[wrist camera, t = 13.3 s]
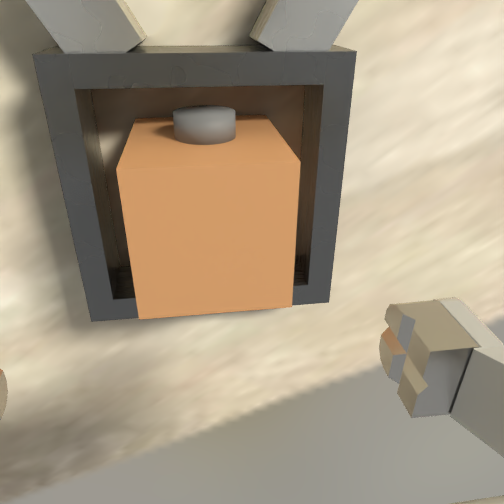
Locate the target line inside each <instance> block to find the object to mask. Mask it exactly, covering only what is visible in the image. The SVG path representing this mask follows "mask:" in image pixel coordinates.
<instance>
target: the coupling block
mask: <svg viewBox="0 0 504 504" xmlns="http://www.w3.org/2000/svg"><path fill="white" fill-rule="evenodd" d="M300 164H301V162H300V160H299V159H298V158H297V156H296V155H295V154H294V152H293V151H292V150H291V148H290V147H289V146H288V144H287V143H286V142H285V140H284V139H283V138H282V136H281V135H280V134H279V132H278V131H277V130H276V128H275V127H274V126H273V124H272V123H271V122H270V120H269V119H268V118H267V116H266V115H241V116H235V110H234V109H232V108H229V107H224V106H213V105H199V106H188V107H183V108H179V109H176V110H174V111H173V117H166V118H136V119H135V122H134V124H133V127H132V130H131V132H130V135H129V137H128V140H127V142H126V145H125V148H124V150H123V153H122V155H121V158H120V161H119V163H118V166H117V168H116V172H117V179H118V185H119V192H120V198H121V205H122V211H123V218H124V224H125V231H126V237H127V244H128V250H129V257H130V263H131V270H132V276H133V283H134V289H135V296H136V303H137V309H138V316H139V320H140V319H152V318H164V317H176V316H188V315H201V314H213V313H225V312H237V311H249V310H262V309H274V308H286V307H292V297H293V280H294V264H295V247H296V230H297V214H298V197H299V180H300Z"/></svg>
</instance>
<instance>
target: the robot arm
mask: <svg viewBox="0 0 504 504" xmlns="http://www.w3.org/2000/svg"><path fill="white" fill-rule="evenodd" d="M385 321H386V322H387V324H388V325H389V327H388V328H387V329H386V330H385V331H384V332H383V334H382V335H381V339H380V345H379V350H380V359H381V362H382V365H383V368H384V370H385V372H386V374H387V376H388V377H389V378H391V379H392V380H394V381H395V382H397V383H399V387H398V391H397V394H398V395H399V397H400V399H401V401H402V402H403V404H404V406H405V407H406V409H407V411H408V413H409V415H410V416H411V418H416V417H426V416H437V415H448V414H450V417H451V418H453V419H454V420H456V421H457V422H458V423H459V424H461V425H462V426H463V427H465V428H466V429H467V430H469V431H470V432H471V433H472V434H474V435H475V436H476V437H478V438H479V439H480V440H482V441H483V442H484V443H485V444H487V445H488V446H489V447H491V448H492V449H494V450H495V451H496V452H497V453H499V454H500V455H501V456H502V457H504V344H503V343H502V342H501V341H500V340H499V339H498V338H497V337H496V336H495V335H494V334H493V333H492V332H491V331H490V329H489V328H488V327H487V326H486V325H485V324H484V323H483V322H482V321H481V320H480V319H479V318H478V317H477V316H476V315H475V314H474V313H473V312H472V311H471V310H470V308H469V307H468V306H467V305H466V304H465V303H464V302H463V301H462V300H460V299H458V298H456V297H452V298H443V299H434V300H431V301H419V302H408V303H397V304H390V305H389V307H388V308H387V310H386V314H385ZM7 394H8V389H7V381H6V378H5V375H4V372H3V370H1V369H0V420H1V418H2V415H3V413H4V410H5V407H6V402H7ZM451 504H504V495H503V496H497V497H490V498H483V499H477V500H470V501H464V502H457V503H451Z"/></svg>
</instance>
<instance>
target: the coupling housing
mask: <svg viewBox="0 0 504 504" xmlns="http://www.w3.org/2000/svg"><path fill="white" fill-rule="evenodd" d="M25 1H26V2H27V4H28V5H29V6H30V8H31V9H32V10H33V12H34V13H35V14H36V16H37V17H38V18H39V20H40V21H41V22H42V24H43V25H44V26H45V28H46V29H47V30H48V32H49V33H50V34H51V36H52V37H53V39H54V40H55V41H56V43H57V44H58V45H59V47H52V48H49V49H46V50H43V51H40V52H38V53H35V54H32V55H33V59H34V64H35V68H36V73H37V78H38V82H39V87H40V91H41V96H42V100H43V105H44V109H45V114H46V118H47V123H48V127H49V132H50V136H51V141H52V145H53V150H54V154H55V159H56V163H57V168H58V172H59V177H60V181H61V186H62V190H63V195H64V200H65V204H66V209H67V213H68V218H69V222H70V227H71V231H72V236H73V240H74V245H75V249H76V254H77V258H78V263H79V267H80V272H81V276H82V281H83V285H84V290H85V294H86V299H87V303H88V308H89V312H90V317H91V321H92V322H93V321H105V320H118V319H130V318H139V316H138V309H137V303H136V296H135V289H134V283H133V276H132V270H131V267H120V262H119V256H118V250H117V244H116V238H115V232H114V226H113V220H112V214H111V208H110V202H109V196H108V190H107V184H106V178H105V172H104V166H103V160H102V154H101V148H100V142H99V136H98V130H97V124H96V118H95V112H94V106H93V101H92V95H91V89H110V88H163V87H217V86H270V85H305V96H304V113H303V130H302V146H301V164H300V180H299V197H298V214H297V230H296V247H295V264H294V280H293V297H292V305H303V304H315V303H327V302H329V297H330V288H331V279H332V270H333V261H334V252H335V243H336V234H337V225H338V216H339V207H340V198H341V189H342V180H343V171H344V161H345V152H346V143H347V134H348V125H349V116H350V107H351V98H352V89H353V80H354V71H355V62H356V53H357V51H354V50H350V49H347V48H343V47H340V46H336V45H332V44H333V43H334V41H335V39H336V38H337V36H338V34H339V33H340V31H341V29H342V27H343V26H344V24H345V22H346V21H347V19H348V17H349V16H350V14H351V12H352V11H353V9H354V7H355V5H356V4H357V2H358V0H267V1H266V3H265V5H264V7H263V9H262V11H261V13H260V15H259V17H258V19H257V21H256V23H255V24H254V26H253V28H252V30H251V32H250V34H249V37H251V38H253V39H254V40H256V41H257V42H259V43H260V44H262V45H246V46H136V45H137V44H139V43H140V42H142V41H143V40H144V39H145V38H146V37H147V36H146V34H145V33H144V31H143V29H142V28H141V26H140V25H139V23H138V21H137V20H136V18H135V17H134V15H133V14H132V12H131V10H130V9H129V7H128V6H127V4H126V3H125V1H124V0H25Z"/></svg>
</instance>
